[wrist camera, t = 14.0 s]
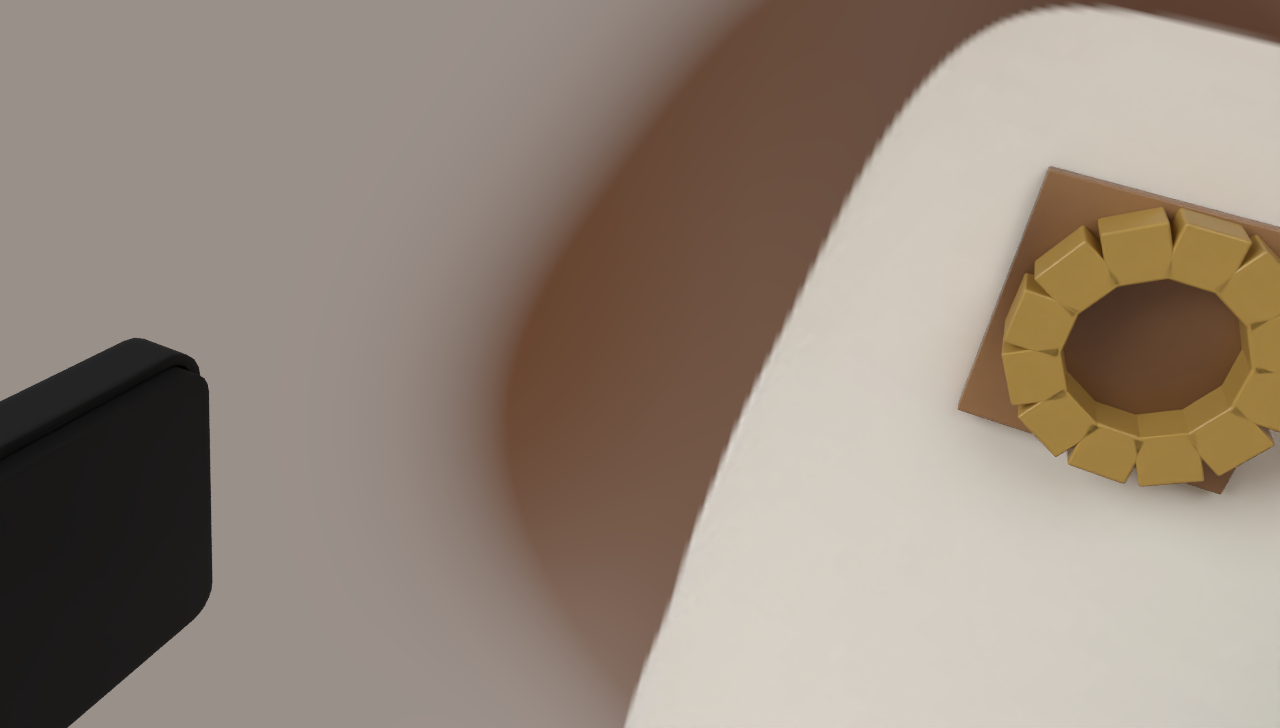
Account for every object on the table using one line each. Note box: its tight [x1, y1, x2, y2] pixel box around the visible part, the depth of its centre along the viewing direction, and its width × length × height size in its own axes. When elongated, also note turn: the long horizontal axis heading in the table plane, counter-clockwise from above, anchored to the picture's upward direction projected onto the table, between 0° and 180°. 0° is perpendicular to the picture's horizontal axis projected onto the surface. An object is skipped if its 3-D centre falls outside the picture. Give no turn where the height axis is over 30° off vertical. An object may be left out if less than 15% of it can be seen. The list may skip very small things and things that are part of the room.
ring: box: [1002, 207, 1280, 486], centre depth 29 cm, size 8×8×2 cm
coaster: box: [958, 167, 1280, 494], centre depth 30 cm, size 8×8×1 cm
